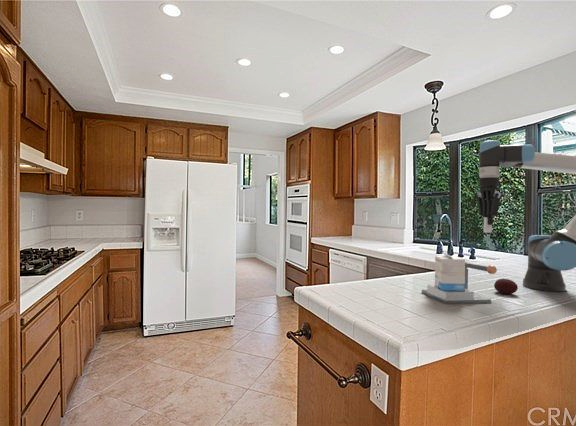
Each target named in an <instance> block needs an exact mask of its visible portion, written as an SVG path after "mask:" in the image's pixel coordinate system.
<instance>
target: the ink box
mask: <svg viewBox="0 0 576 426" xmlns="http://www.w3.org/2000/svg"><path fill="white" fill-rule="evenodd" d="M441 252H442V254H444V256H443V255H439V256H438V255H435V257H434V259H435V260H434V285H435V286H437V287H438V288H440V289H441V290H453V291H465V262H466V259H464V258H462V257H460V256H453V255H452V256H451V255H450V254H449V253H447V252H444V251H441Z"/></svg>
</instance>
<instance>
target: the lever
mask: <svg viewBox="0 0 576 426" xmlns="http://www.w3.org/2000/svg"><path fill="white" fill-rule="evenodd" d="M465 268H468V269H473V270H478V271H483V272H487V273H488V274H490V275H494V274H496V273H497V271H498V270H497V269H498V268H496V266H494V265H491V264H490V265H488V266H487V265H481V264H476V263H470V262H467V261H465Z"/></svg>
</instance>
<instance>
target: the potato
mask: <svg viewBox="0 0 576 426" xmlns="http://www.w3.org/2000/svg"><path fill="white" fill-rule="evenodd" d="M493 288H494V289H495V290H496V291H497V292H499V293H501V294H506V295H510V294H515V293H516V292H517V291H518V289H519V287H518V284H517V283H516V282H515V281H514V280H511V279H508V278H498V279H497V280H496V281H495V282H494V284H493Z"/></svg>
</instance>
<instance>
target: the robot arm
mask: <svg viewBox="0 0 576 426" xmlns="http://www.w3.org/2000/svg"><path fill="white" fill-rule="evenodd" d="M479 145H480V146H479V152H478V153H479V154H478V156H479V157H478V159H479V161H478V162H479V163H478V165H479V166H478V170H479V171H478V176H479V179H478V187H480V190H479V193H476V194H475V197H476V200H477V208H478V215H479V216H481V217H483V218H482V220H483V221H482V224H483V233H486V234H488V233H491V234H492V233H493V225H494V224H493V223H494V217H497V216H498V213H499V212H498V211H499V208H500V203H501V199H502V197H503V193H501V192H499V190H498V189H499V188H498V187H500V178H499V177H500V176H501V175H500V167H502V168H506V169H507V168H517V169H518V168H519V169H528V170H534V171H535V170H537V171H543V172H544V171H545V172H553V173H562V174H570V175H576V156H575V155H568V154H558V153H557V154H556V153H548V152H547V153H546V152H539V151H538V152H536V149H535V146H534V145H533V144H532V143H531V144H530V143H529V144H525V143H523V144H509V145H506V144H505V145H503V144H502V145H501V141H500V140H495V139H493V140H491V139H490V140H485V141H482V142H481V143H480V144H479ZM527 244H528V251H527V268H526V272H525V275H524V278H523V279H522V286H523V287H525V288H529V289H534V290H539V291H544V292H545V291H547V292H564V291H565V292H566V290H567V285H566V283H565V280H564V278H563V274H562V271H570V270H571V271H572V270H573V269H576V214H575V215H574V216H573V218H571V220H569V222H568V223H567V224H566V226H564V228H562V229H560V230H559V229H558V230H555V231H554V232H553V233H552V234H541V235H540V234H534V235H530V236H529V237H528V242H527Z"/></svg>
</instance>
